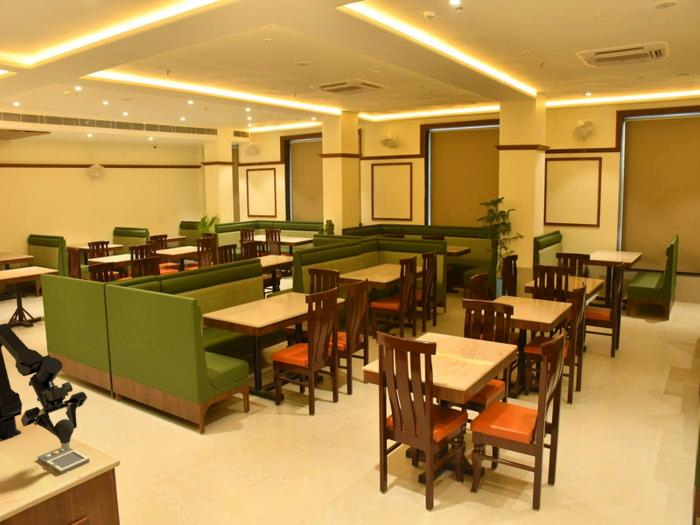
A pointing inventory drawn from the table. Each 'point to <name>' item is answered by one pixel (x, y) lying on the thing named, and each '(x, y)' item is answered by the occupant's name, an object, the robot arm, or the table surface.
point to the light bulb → (64, 432)
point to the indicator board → (63, 459)
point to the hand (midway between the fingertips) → (66, 431)
